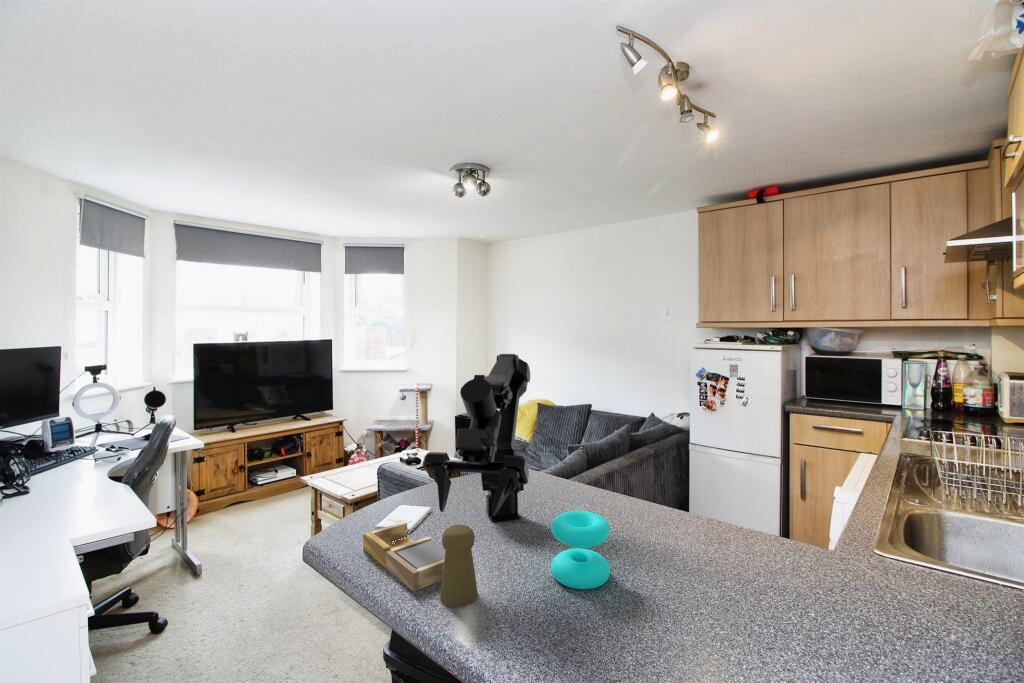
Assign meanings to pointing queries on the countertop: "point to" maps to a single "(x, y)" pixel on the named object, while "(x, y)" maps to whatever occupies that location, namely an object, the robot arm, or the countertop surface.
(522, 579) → the countertop surface
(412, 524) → the external hard drive
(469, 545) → the olive brown pawn
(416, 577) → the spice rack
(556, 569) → the donuts
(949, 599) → the countertop surface
